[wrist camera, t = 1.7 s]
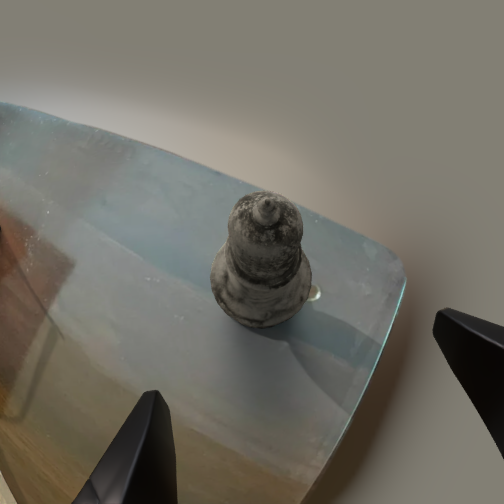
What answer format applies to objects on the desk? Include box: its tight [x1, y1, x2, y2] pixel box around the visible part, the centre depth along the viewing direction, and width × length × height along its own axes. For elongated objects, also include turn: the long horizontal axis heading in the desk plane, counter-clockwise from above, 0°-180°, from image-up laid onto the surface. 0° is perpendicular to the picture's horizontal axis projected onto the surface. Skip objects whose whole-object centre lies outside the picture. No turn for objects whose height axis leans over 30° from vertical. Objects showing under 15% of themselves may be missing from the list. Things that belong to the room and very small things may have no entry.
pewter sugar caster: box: [210, 191, 312, 329], centre depth 15 cm, size 6×6×12 cm
